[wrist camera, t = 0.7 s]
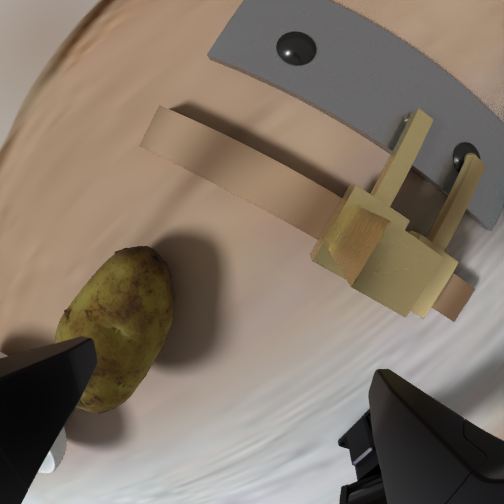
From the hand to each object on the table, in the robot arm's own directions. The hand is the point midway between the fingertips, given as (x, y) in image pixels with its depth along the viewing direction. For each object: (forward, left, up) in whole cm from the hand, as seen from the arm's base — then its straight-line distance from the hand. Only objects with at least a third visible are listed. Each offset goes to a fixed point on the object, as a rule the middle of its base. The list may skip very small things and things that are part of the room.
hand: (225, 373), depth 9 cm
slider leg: (-5, -8, -12) cm, 15 cm away
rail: (-3, -8, -13) cm, 16 cm away
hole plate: (-3, -15, -13) cm, 20 cm away
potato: (+6, +9, -14) cm, 17 cm away
